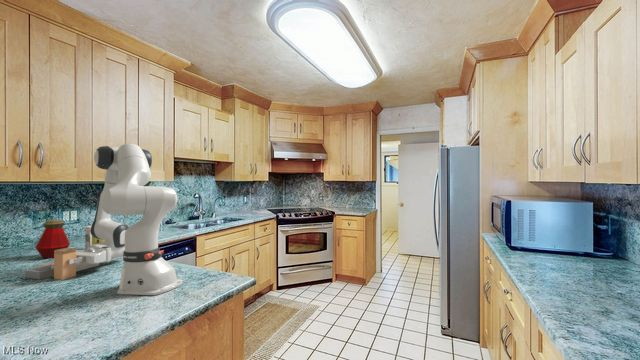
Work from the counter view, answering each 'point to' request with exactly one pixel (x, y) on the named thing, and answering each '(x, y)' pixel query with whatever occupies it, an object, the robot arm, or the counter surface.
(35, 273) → the white slab
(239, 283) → the counter surface
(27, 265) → the counter surface
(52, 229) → the red faceted jar
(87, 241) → the syrup box
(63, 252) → the tan upright wooden block
